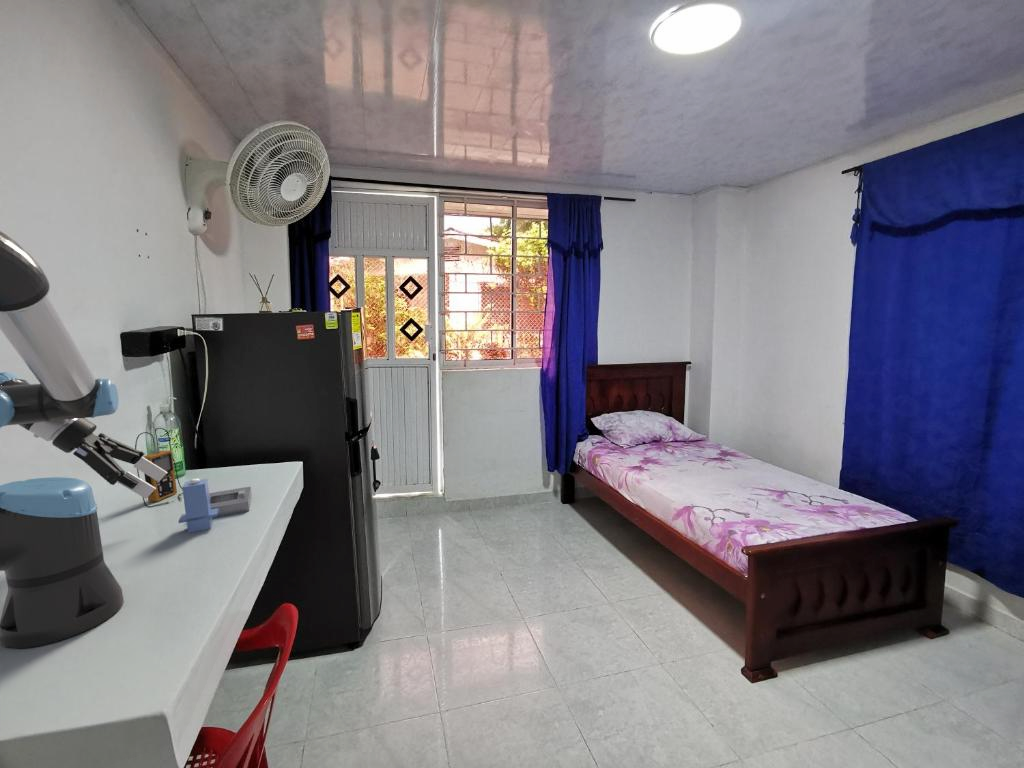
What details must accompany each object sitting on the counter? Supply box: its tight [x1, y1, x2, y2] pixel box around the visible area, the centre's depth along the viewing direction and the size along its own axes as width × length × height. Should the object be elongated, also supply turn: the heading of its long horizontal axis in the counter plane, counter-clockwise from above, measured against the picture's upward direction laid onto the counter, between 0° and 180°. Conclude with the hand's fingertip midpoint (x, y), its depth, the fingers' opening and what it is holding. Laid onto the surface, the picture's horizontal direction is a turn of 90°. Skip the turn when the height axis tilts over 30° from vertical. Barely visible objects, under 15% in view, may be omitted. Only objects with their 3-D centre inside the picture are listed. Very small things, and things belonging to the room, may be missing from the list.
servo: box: [178, 478, 219, 534], centre depth 118 cm, size 4×8×12 cm, turn 115°
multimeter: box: [134, 427, 183, 508], centre depth 140 cm, size 15×10×20 cm
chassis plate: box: [209, 486, 253, 517], centre depth 132 cm, size 14×12×3 cm
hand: (157, 484), depth 116 cm, fingers open, 13 cm apart
